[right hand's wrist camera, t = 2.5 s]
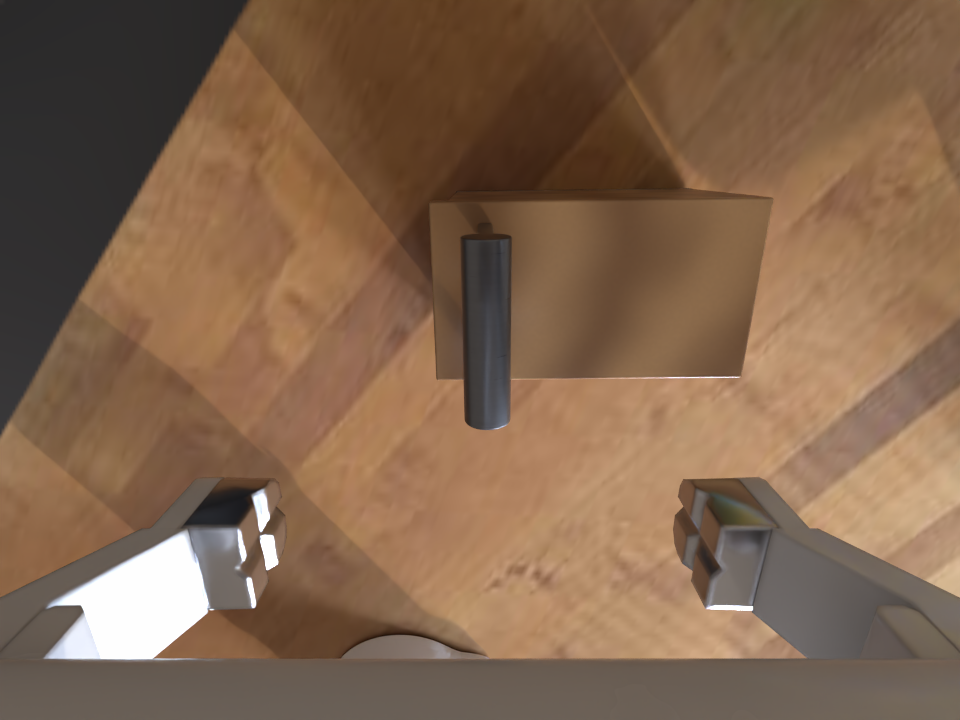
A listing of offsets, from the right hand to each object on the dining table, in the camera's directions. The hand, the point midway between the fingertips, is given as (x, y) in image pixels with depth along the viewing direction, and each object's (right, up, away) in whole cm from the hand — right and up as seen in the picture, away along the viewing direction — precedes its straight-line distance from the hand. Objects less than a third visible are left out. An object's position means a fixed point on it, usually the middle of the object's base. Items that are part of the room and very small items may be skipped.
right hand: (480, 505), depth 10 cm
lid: (+6, +7, +16) cm, 19 cm away
